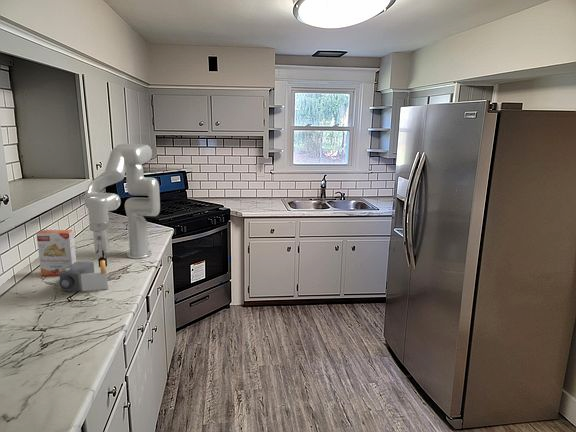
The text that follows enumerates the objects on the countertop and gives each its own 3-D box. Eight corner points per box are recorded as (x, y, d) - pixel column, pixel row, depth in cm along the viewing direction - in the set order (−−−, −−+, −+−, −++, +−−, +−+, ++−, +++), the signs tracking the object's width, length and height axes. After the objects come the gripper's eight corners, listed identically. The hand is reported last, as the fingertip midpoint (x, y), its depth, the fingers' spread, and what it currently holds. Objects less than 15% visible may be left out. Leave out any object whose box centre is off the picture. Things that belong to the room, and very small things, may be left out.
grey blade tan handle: (108, 287, 176) (105, 259, 173) (107, 290, 174) (105, 261, 171) (80, 290, 172) (77, 261, 169) (79, 293, 170) (76, 263, 167)
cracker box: (40, 276, 186) (35, 233, 181) (46, 271, 192) (41, 229, 187) (73, 275, 188) (68, 232, 183) (77, 271, 194) (73, 229, 189)
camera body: (77, 278, 186) (75, 260, 184) (94, 278, 186) (93, 260, 184) (57, 293, 170) (55, 273, 168) (76, 293, 170) (74, 274, 168)
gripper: (107, 230, 165) (111, 272, 170) (110, 220, 179) (113, 259, 183) (87, 231, 163) (91, 273, 167) (91, 221, 176) (95, 261, 181)
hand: (103, 266), depth 175 cm, fingers closed
